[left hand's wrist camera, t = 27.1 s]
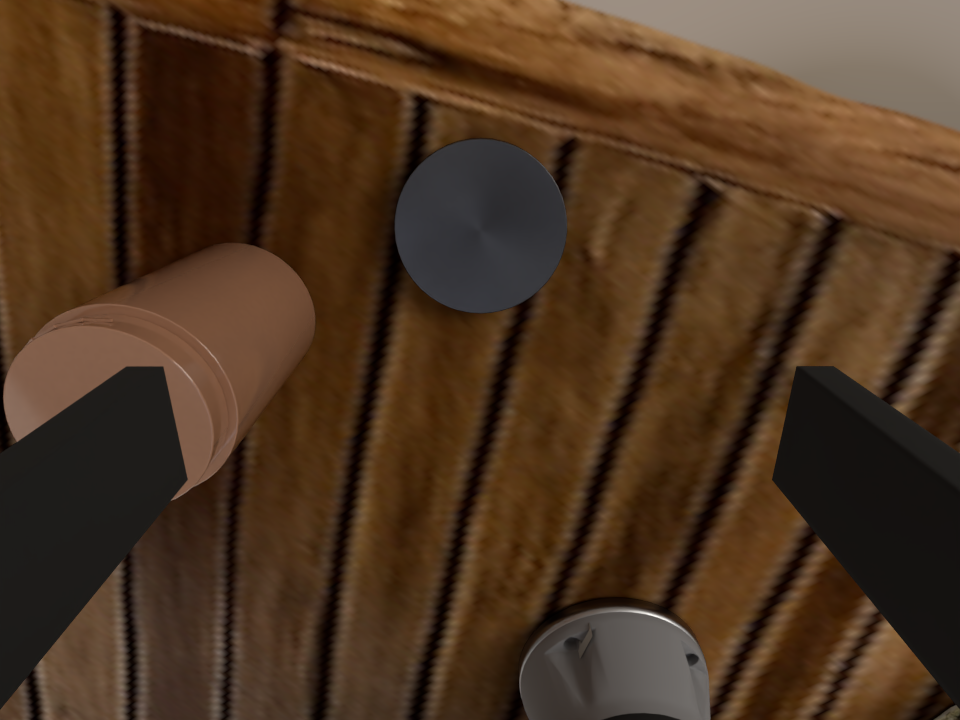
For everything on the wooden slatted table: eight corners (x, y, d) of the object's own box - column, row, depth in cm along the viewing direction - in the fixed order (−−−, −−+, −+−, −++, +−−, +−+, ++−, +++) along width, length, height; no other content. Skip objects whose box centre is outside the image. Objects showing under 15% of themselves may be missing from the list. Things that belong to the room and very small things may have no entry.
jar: (178, 223, 36) (-10, 286, 22) (328, 267, 37) (238, 353, 23) (163, 359, 39) (-8, 487, 26) (301, 395, 40) (209, 537, 27)
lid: (451, 331, 39) (450, 341, 37) (366, 193, 35) (360, 196, 34) (590, 256, 37) (595, 263, 35) (514, 103, 34) (516, 102, 32)
